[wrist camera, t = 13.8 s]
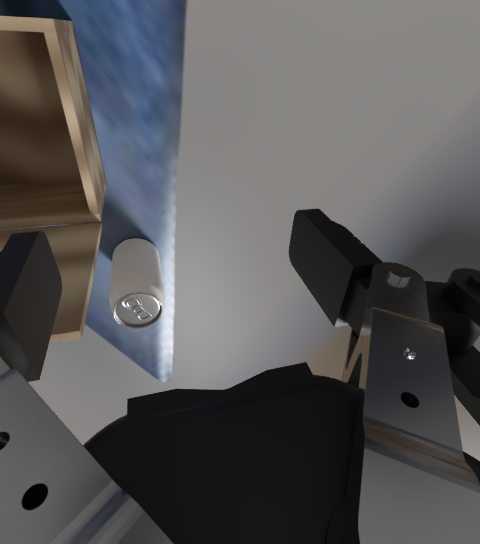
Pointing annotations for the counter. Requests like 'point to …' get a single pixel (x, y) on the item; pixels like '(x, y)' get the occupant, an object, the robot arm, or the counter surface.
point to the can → (136, 284)
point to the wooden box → (46, 128)
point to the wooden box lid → (70, 272)
